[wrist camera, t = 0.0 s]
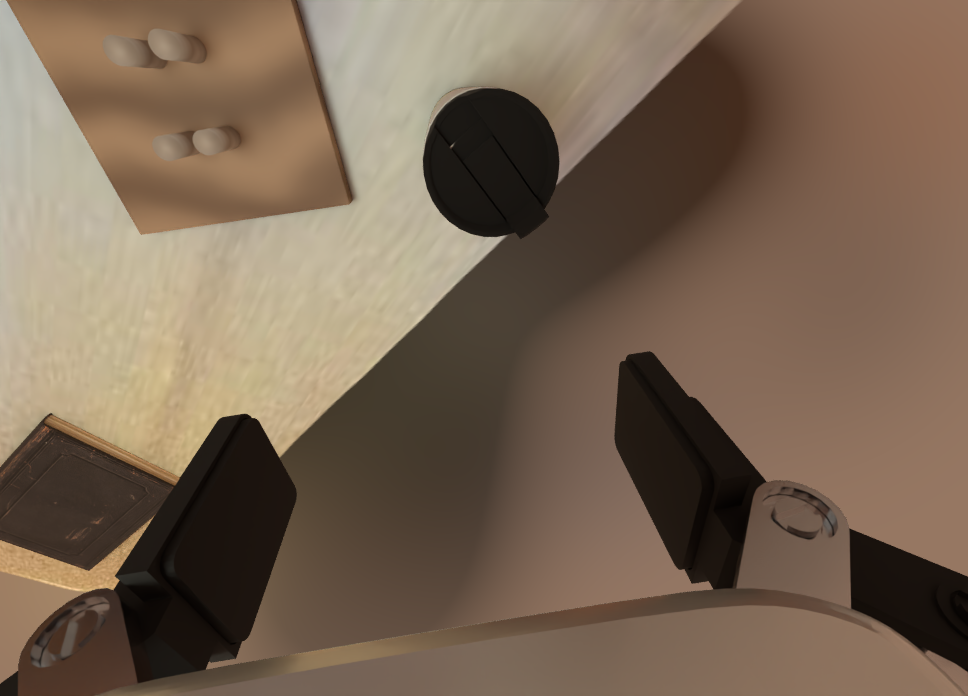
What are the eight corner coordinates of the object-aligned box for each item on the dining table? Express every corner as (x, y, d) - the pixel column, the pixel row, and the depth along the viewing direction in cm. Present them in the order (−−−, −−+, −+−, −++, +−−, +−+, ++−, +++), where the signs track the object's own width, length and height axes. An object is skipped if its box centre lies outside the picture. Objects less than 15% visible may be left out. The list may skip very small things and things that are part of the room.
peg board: (-1, -43, 27) (-91, -70, 22) (273, -79, 27) (240, -114, 23) (151, 229, 37) (109, 250, 32) (352, 200, 37) (340, 216, 32)
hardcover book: (191, 477, 54) (182, 492, 52) (100, 555, 60) (89, 571, 58) (54, 409, 46) (37, 423, 44) (-34, 506, 53) (-52, 522, 51)
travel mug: (464, 189, 37) (485, 271, 21) (413, 124, 34) (390, 159, 18) (519, 141, 36) (592, 187, 19) (471, 68, 33) (508, 46, 16)
